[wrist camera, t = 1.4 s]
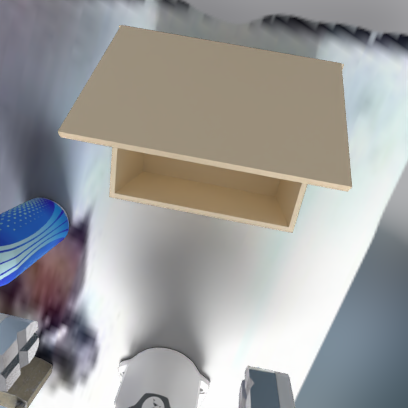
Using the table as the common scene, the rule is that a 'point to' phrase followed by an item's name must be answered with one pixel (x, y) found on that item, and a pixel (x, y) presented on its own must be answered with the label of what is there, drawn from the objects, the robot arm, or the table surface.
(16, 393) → the padlock
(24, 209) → the beer can
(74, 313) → the table surface
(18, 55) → the table surface
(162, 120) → the carton flap
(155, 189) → the carton
